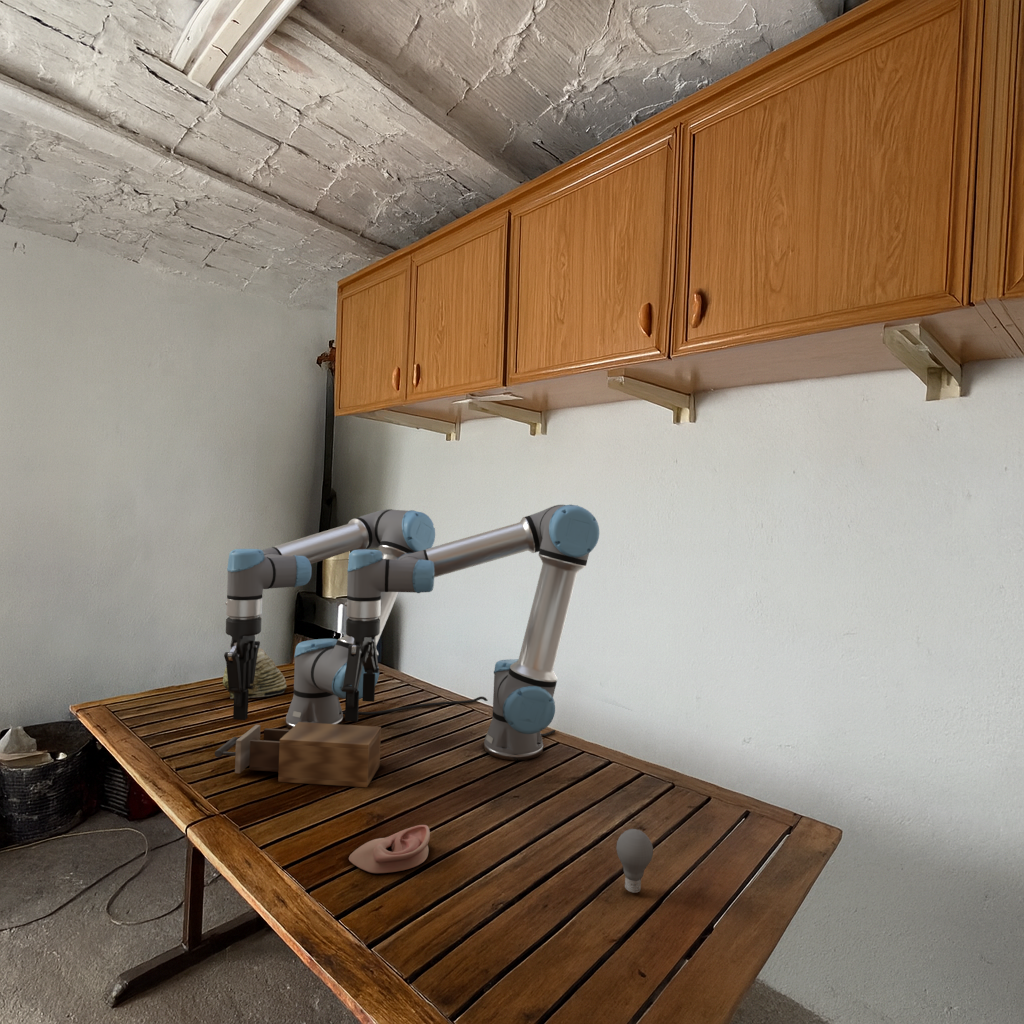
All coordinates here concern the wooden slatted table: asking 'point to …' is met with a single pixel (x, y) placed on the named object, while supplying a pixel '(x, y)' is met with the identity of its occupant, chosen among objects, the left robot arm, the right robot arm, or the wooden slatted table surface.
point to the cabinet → (329, 754)
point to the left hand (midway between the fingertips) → (240, 718)
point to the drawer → (255, 749)
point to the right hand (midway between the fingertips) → (360, 710)
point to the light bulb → (634, 857)
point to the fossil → (263, 678)
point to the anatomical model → (393, 851)
